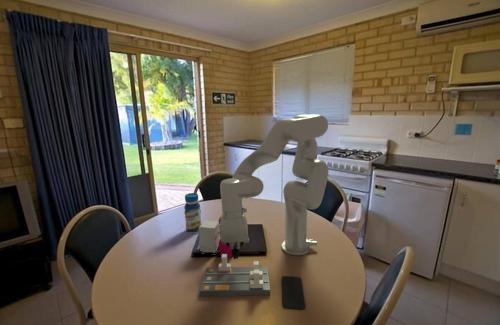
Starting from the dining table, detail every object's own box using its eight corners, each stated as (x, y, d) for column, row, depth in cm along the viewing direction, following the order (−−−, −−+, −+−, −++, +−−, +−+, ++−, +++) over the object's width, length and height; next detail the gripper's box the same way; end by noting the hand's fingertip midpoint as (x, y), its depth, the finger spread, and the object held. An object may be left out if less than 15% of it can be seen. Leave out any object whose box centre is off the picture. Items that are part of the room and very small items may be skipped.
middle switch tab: (262, 274, 89) (262, 261, 88) (262, 278, 87) (262, 264, 86) (250, 275, 89) (250, 261, 88) (250, 278, 87) (250, 264, 86)
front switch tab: (262, 283, 84) (262, 269, 83) (263, 288, 82) (263, 273, 81) (250, 284, 84) (250, 269, 83) (250, 288, 82) (250, 273, 81)
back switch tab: (230, 267, 93) (230, 254, 92) (230, 270, 91) (229, 257, 90) (219, 267, 93) (218, 254, 92) (218, 270, 91) (218, 257, 90)
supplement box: (215, 254, 106) (214, 228, 103) (199, 253, 108) (198, 227, 105) (220, 246, 113) (219, 221, 111) (206, 244, 115) (204, 219, 112)
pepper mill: (222, 260, 102) (220, 216, 98) (216, 252, 108) (214, 210, 104) (238, 256, 105) (236, 213, 101) (231, 248, 111) (229, 207, 107)
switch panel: (267, 271, 94) (267, 266, 94) (270, 294, 82) (270, 289, 82) (206, 272, 94) (206, 267, 94) (199, 296, 82) (199, 290, 82)
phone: (282, 307, 76) (281, 275, 91) (282, 309, 76) (281, 277, 91) (305, 309, 75) (301, 276, 90) (305, 311, 76) (301, 278, 90)
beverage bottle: (203, 226, 133) (201, 192, 129) (199, 234, 124) (196, 197, 120) (189, 226, 134) (186, 192, 130) (183, 233, 125) (180, 197, 121)
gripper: (252, 207, 92) (255, 250, 96) (213, 209, 92) (217, 251, 96) (253, 215, 84) (255, 261, 88) (210, 218, 84) (215, 263, 89)
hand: (236, 256), depth 92 cm, fingers closed
